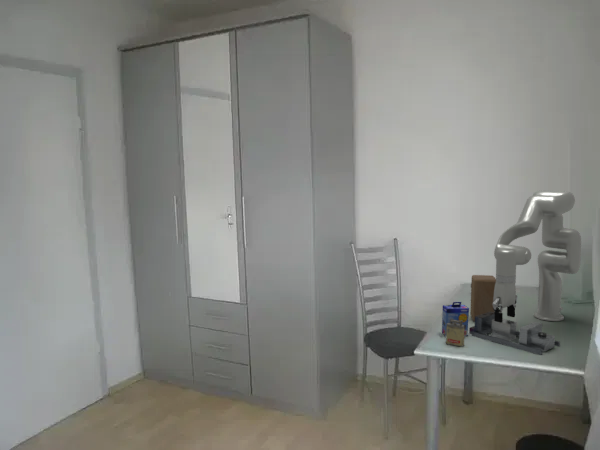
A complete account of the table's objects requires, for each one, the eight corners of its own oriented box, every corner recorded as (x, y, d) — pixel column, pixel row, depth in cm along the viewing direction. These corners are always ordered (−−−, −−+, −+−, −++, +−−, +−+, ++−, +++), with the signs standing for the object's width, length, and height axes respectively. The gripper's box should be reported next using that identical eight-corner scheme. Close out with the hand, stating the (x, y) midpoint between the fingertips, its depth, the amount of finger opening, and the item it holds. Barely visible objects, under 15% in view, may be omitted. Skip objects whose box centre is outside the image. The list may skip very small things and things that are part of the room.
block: (496, 323, 227) (497, 279, 225) (472, 322, 229) (474, 278, 227) (492, 316, 237) (493, 275, 235) (470, 315, 239) (471, 274, 237)
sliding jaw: (534, 339, 205) (534, 321, 204) (556, 345, 198) (557, 327, 197) (518, 346, 197) (519, 327, 196) (541, 352, 190) (542, 333, 189)
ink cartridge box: (445, 336, 210) (446, 302, 208) (440, 332, 215) (441, 299, 213) (468, 336, 210) (469, 302, 209) (463, 331, 216) (464, 298, 214)
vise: (487, 326, 223) (487, 309, 222) (560, 345, 198) (561, 326, 198) (466, 334, 213) (467, 316, 212) (540, 355, 189) (541, 334, 188)
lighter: (444, 343, 202) (445, 319, 200) (447, 341, 205) (448, 317, 204) (462, 347, 198) (463, 322, 197) (465, 344, 201) (466, 319, 200)
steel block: (497, 333, 214) (498, 317, 213) (515, 338, 207) (516, 322, 207) (491, 336, 210) (491, 319, 210) (509, 341, 204) (510, 324, 203)
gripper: (508, 273, 214) (507, 312, 217) (485, 280, 204) (484, 321, 206) (525, 276, 208) (524, 316, 211) (503, 284, 198) (502, 326, 200)
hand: (504, 319), depth 208 cm, fingers open, 9 cm apart
